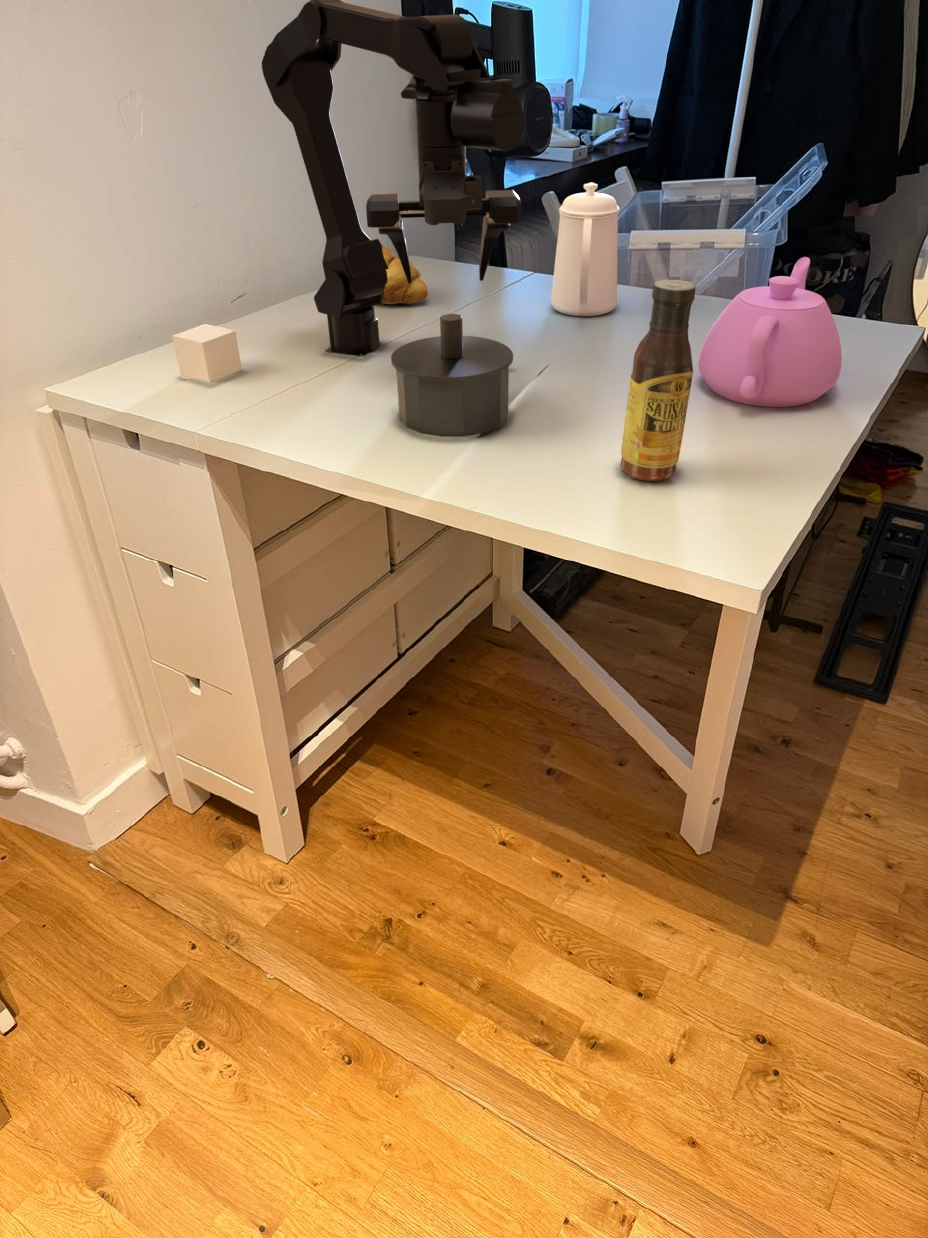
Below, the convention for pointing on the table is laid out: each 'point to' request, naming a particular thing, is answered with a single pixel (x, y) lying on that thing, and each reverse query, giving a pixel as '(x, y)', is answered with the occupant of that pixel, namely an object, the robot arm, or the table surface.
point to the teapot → (773, 345)
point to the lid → (452, 355)
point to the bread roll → (402, 282)
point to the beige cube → (207, 353)
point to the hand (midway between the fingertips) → (445, 281)
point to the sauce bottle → (660, 386)
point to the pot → (454, 405)
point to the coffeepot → (586, 254)
